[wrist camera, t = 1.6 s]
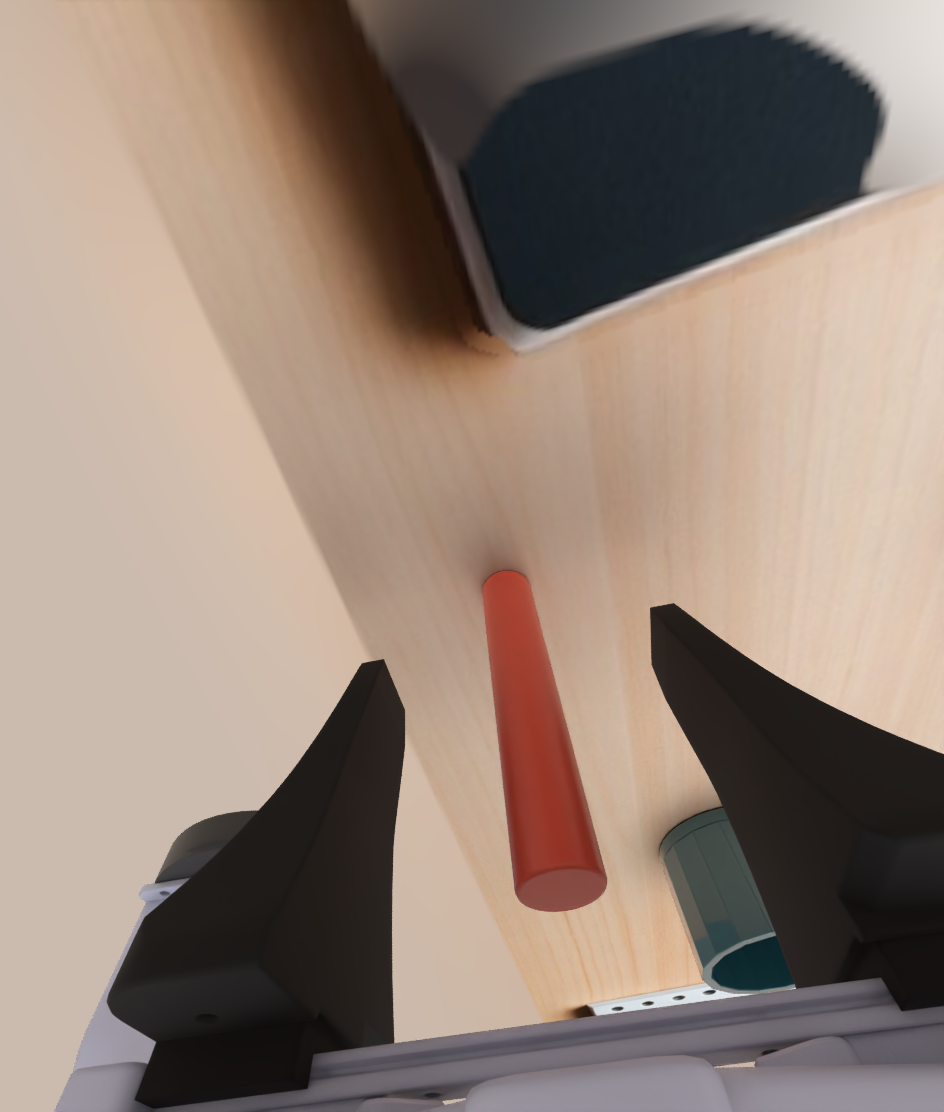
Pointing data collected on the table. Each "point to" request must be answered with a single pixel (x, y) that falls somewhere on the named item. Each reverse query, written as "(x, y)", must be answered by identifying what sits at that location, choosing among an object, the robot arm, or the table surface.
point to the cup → (722, 908)
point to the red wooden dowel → (537, 759)
